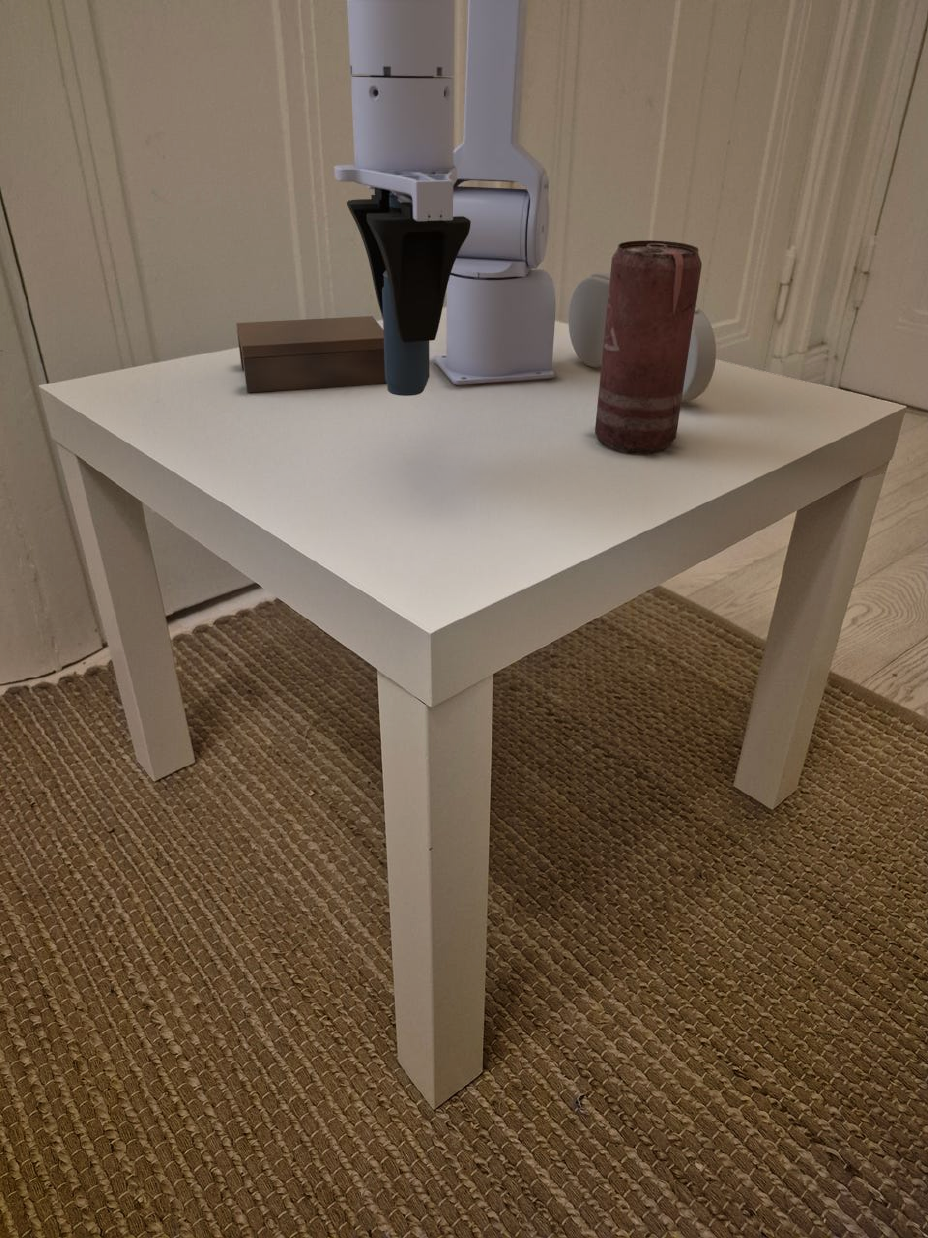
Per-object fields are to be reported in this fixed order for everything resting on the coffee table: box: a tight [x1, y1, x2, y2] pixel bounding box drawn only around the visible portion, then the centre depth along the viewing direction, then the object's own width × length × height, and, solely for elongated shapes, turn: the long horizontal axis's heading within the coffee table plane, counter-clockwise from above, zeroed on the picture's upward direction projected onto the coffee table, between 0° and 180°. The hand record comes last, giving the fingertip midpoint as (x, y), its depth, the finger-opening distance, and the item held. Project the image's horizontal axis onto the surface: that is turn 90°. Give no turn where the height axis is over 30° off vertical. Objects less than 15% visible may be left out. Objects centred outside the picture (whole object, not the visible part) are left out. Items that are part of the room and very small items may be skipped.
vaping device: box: [382, 194, 431, 397], centre depth 55 cm, size 3×5×12 cm, turn 175°
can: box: [594, 239, 703, 455], centre depth 64 cm, size 6×6×14 cm
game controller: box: [568, 272, 717, 403], centre depth 79 cm, size 20×2×8 cm, turn 26°
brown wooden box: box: [235, 315, 387, 394], centre depth 80 cm, size 13×8×4 cm, turn 106°
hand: (407, 328), depth 56 cm, fingers closed on vaping device, 5 cm apart
